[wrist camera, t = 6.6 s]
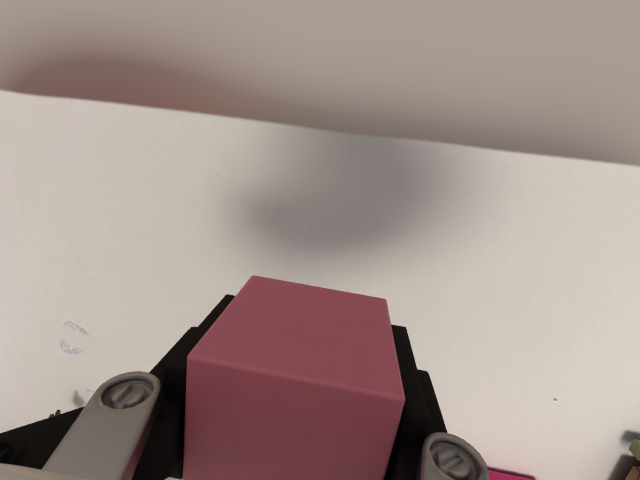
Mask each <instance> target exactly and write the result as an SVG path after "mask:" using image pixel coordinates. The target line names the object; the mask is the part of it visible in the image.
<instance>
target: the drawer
mask: <svg viewBox="0 0 640 480" xmlns="http://www.w3.org/2000/svg"><path fill="white" fill-rule="evenodd" d="M629 450H630V451H631V452H632V454H633V455H634V456H635V457H636V458H637V459H638V460H639V461H640V440H637V439H634V441H633V442H632V444H631V446H630V448H629ZM625 480H640V467H635V466H633V467H632V469H631V470H630V472H629V474H628V476H627V477H626V479H625Z"/></svg>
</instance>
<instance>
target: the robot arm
mask: <svg viewBox="0 0 640 480" xmlns="http://www.w3.org/2000/svg"><path fill="white" fill-rule="evenodd" d="M234 298H235V296H233V295H228V294H227V295H225V297H224V298H223V299H222V300H221V301H220V302H219V303H218V305H217V306H216V307H215V308H214V309H213V310H212V311H211V313H210V314H209V315H208V316H207V317H206V318H205V319H204V321H203V322H202V323H201V324H200V325H199V326H198V327H191V328H190V329H189V330H188V331H187V332H186V333H185V334H184V335H183V336H182V338H181V339H180V340H179V341H178V342H177V343H176V344H175V345H174V346H173V347H172V348H171V350H170V351H169V352H168V353H167V354H166V355H165V356H164V357H163V358H162V359H161V360H160V362H159V363H158V364H157V365H156V366H155V367H154V368H153V369H152V370H151V371H150V372H149V373H148V372H140V371H138V372H128V373H124V374H120V375H118V376H115V377H113V378H111V379H109V380H108V381H106V382H105V383H103V384H102V385H101V386H100V387H99V388H98V389H97V390H96V392H95V393H94V394H93V396H92V397H91V399H90V400H89V402H88V403H87V405H86V406H85V407H82V408H79V409H75V410H72V411H69V412H66V413H63V414H60V415H57V416H54V417H50V418H47V419H44V420H41V421H38V422H35V423H32V424H28V425H25V426H22V427H19V428H16V429H13V430H10V431H7V432H3V433H0V480H164V479H166V478H168V477H171V478H176V479H180V480H182V478H183V457H184V430H185V402H186V375H187V356H188V355H189V353H190V352H191V351H192V349H193V348H194V347H195V346H196V345H197V343H198V342H199V341H200V340H201V338H202V337H203V336H204V335H205V333H206V332H207V331H208V330H209V328H210V327H211V326H212V325H213V324H214V322H215V321H216V320H217V319H218V317H219V316H220V315H221V314H222V312H223V311H224V310H225V309H226V307H227V306H228V305H229V304H230V302H231V301H232V300H233V299H234ZM391 327H392V333H393V338H394V343H395V348H396V354H397V359H398V364H399V369H400V375H401V380H402V385H403V390H404V395H405V403H404V406H403V410H402V414H401V418H400V421H399V425H398V429H397V433H396V436H395V440H394V444H393V448H392V451H391V455H390V459H389V463H388V466H387V470H386V474H385V478H384V480H490V479H489V472H488V469H487V466H486V463H485V461H484V460H483V458H482V457H481V455H480V454H479V453H478V452H477V451H476V449H475V448H474V447H473V446H471V445H470V444H469V443H467V442H466V441H465V440H463V439H461V438H459V437H457V436H455V435H452V434H448V433H447V430H446V427H445V424H444V420H443V417H442V414H441V411H440V408H439V405H438V401H437V398H436V395H435V392H434V389H433V386H432V382H431V379H430V376H429V374H428V372H427V371H423V370H418V369H417V367H416V363H415V359H414V356H413V352H412V348H411V345H410V341H409V337H408V333H407V330H406V327H402V326H396V325H391Z"/></svg>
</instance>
